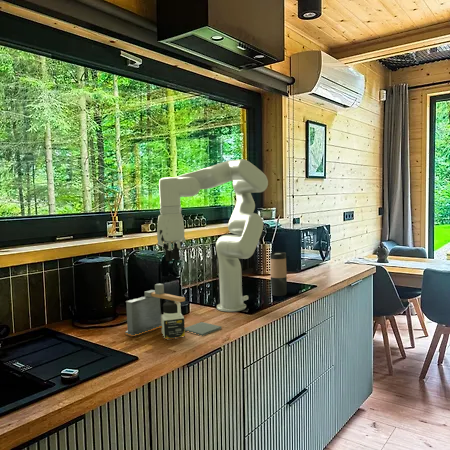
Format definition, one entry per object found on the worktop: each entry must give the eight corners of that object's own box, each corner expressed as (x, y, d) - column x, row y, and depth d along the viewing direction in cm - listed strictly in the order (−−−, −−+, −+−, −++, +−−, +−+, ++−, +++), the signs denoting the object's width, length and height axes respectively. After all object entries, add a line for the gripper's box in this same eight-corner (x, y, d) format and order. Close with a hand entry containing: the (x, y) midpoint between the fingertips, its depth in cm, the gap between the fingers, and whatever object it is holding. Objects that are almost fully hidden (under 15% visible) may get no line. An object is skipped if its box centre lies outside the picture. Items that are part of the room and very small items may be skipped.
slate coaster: (201, 323, 162) (201, 321, 162) (221, 328, 155) (221, 326, 155) (182, 330, 155) (182, 328, 154) (202, 336, 148) (202, 333, 148)
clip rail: (155, 324, 163) (154, 293, 162) (163, 326, 160) (162, 294, 159) (125, 334, 152) (123, 301, 151) (133, 337, 149) (131, 303, 148)
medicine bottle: (164, 340, 145) (163, 305, 144) (161, 333, 152) (160, 300, 151) (185, 337, 147) (183, 303, 146) (181, 331, 154) (180, 298, 153)
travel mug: (286, 292, 208) (285, 251, 207) (287, 296, 201) (286, 254, 199) (270, 292, 209) (269, 252, 208) (271, 296, 202) (270, 254, 200)
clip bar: (152, 294, 160) (151, 281, 160) (186, 300, 148) (185, 287, 148) (144, 296, 157) (143, 283, 157) (178, 303, 145) (178, 289, 145)
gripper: (179, 209, 166) (181, 256, 167) (146, 212, 154) (149, 262, 155) (193, 209, 161) (195, 258, 163) (160, 212, 149) (162, 264, 150)
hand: (172, 259), depth 159 cm, fingers open, 2 cm apart
